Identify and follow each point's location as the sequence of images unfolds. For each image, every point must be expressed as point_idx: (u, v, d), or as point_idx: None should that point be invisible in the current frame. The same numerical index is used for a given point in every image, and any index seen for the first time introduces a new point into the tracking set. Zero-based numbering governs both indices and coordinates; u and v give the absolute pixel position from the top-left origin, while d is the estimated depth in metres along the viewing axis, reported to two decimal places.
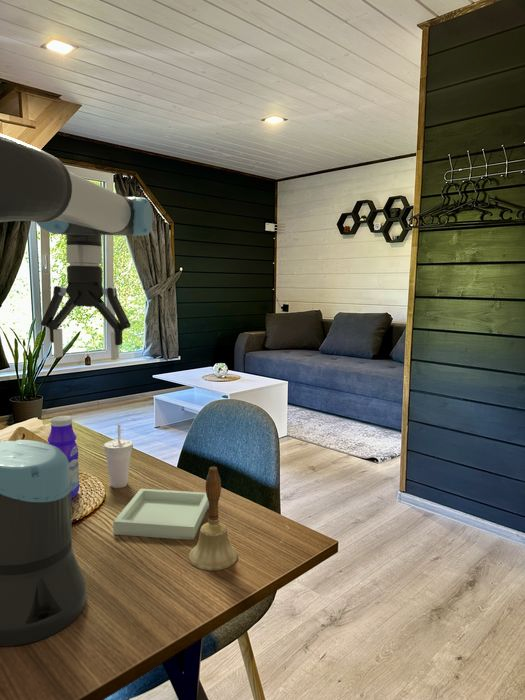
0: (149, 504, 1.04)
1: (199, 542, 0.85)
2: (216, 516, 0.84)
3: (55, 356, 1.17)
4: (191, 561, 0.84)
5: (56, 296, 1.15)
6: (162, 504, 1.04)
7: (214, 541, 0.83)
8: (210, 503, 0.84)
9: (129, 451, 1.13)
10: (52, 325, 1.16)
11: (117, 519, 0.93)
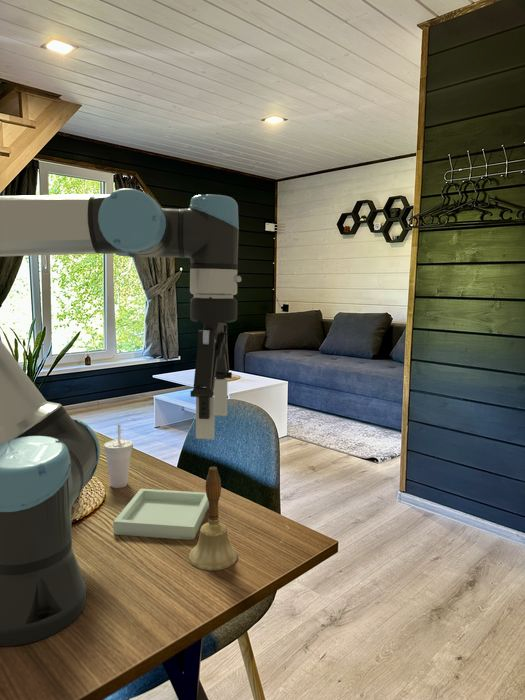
0: (149, 504, 1.04)
1: (199, 542, 0.85)
2: (216, 516, 0.84)
3: None
4: (191, 561, 0.84)
5: None
6: (162, 504, 1.04)
7: (214, 541, 0.83)
8: (210, 503, 0.84)
9: (129, 451, 1.13)
10: None
11: (117, 519, 0.93)
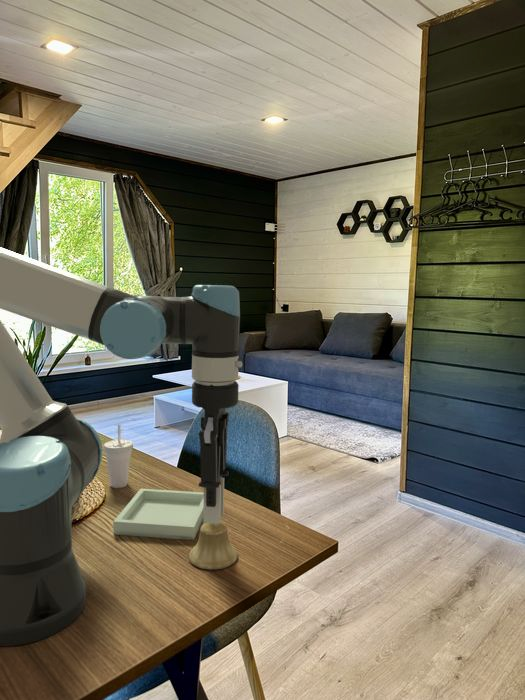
0: (149, 504, 1.04)
1: (199, 541, 0.85)
2: None
3: None
4: (191, 560, 0.84)
5: None
6: (162, 504, 1.04)
7: (214, 540, 0.83)
8: None
9: (129, 451, 1.13)
10: None
11: (117, 519, 0.93)
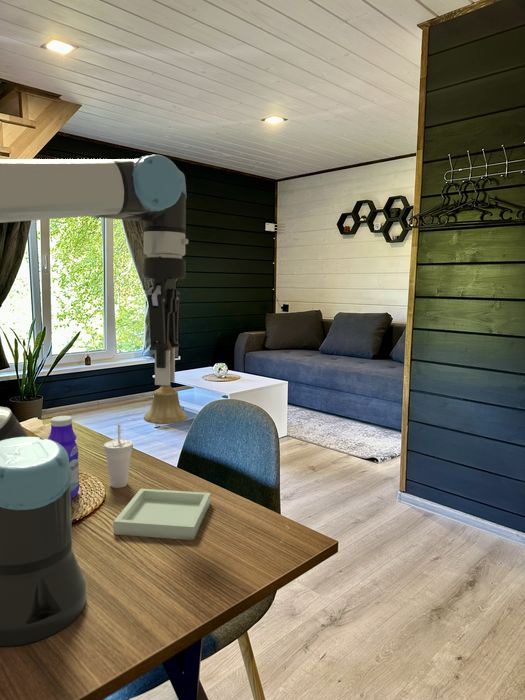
0: (149, 504, 1.04)
1: (152, 403, 0.95)
2: None
3: None
4: (145, 418, 0.95)
5: None
6: (162, 504, 1.04)
7: (165, 400, 0.94)
8: None
9: (129, 451, 1.13)
10: None
11: (117, 519, 0.93)
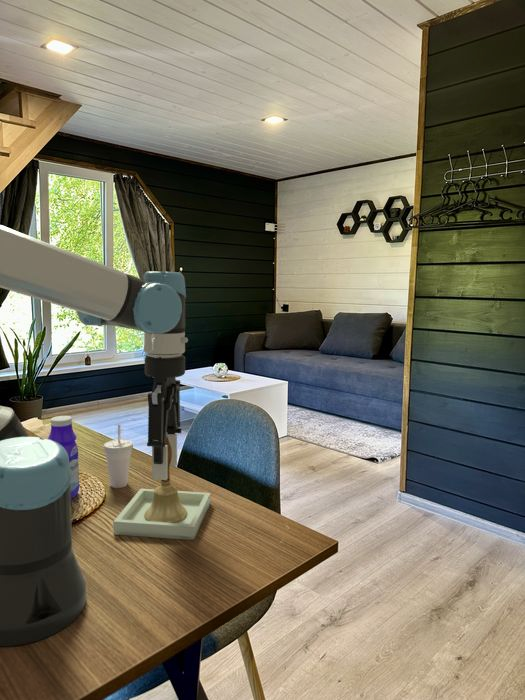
0: (149, 504, 1.04)
1: (153, 501, 0.98)
2: (167, 479, 0.98)
3: None
4: (146, 517, 0.97)
5: None
6: None
7: (165, 500, 0.97)
8: None
9: (129, 451, 1.13)
10: None
11: (117, 519, 0.93)
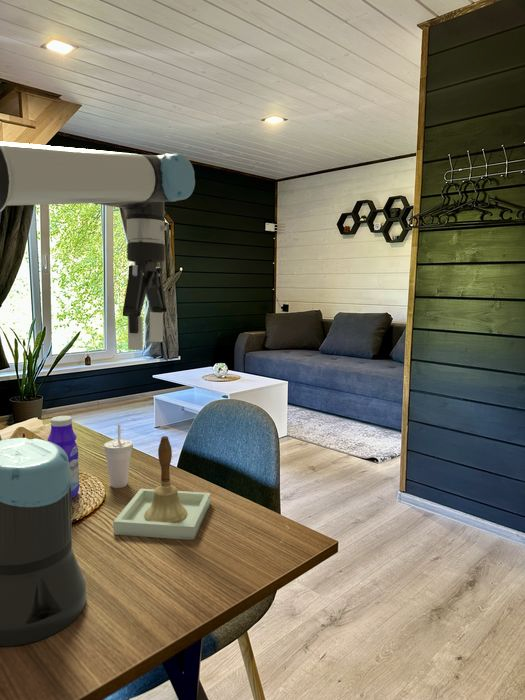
0: (149, 504, 1.04)
1: (153, 501, 0.98)
2: (167, 479, 0.98)
3: None
4: (145, 517, 0.97)
5: None
6: None
7: (165, 500, 0.97)
8: (162, 468, 0.98)
9: (129, 451, 1.13)
10: None
11: (117, 519, 0.93)
